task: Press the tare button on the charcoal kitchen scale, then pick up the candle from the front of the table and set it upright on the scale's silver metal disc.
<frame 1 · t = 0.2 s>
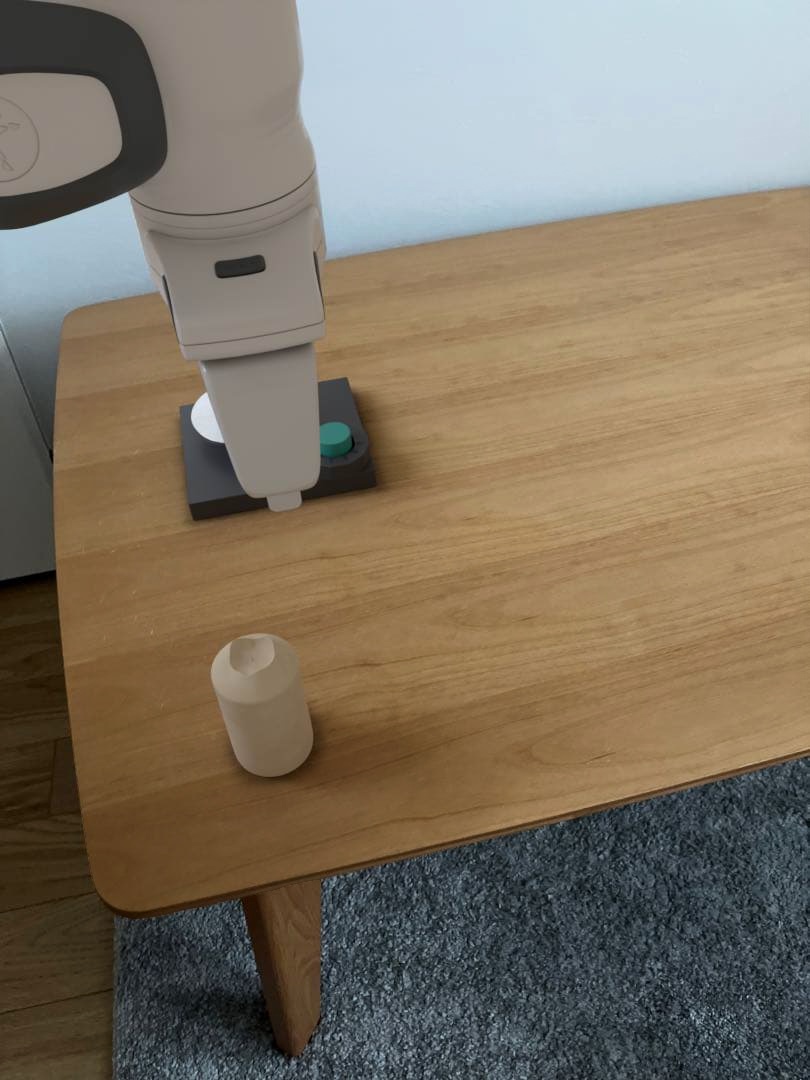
hand: (274, 448, 58), 21 cm above the table, tool pointing down, fingers open, 8 cm apart
tare button: (333, 439, 86), point 4 cm above the table, slide at 0.1 cm
candle: (274, 745, 70), on the table
scale: (276, 452, 91), on the table
silver metal disc: (251, 443, 93), resting on scale
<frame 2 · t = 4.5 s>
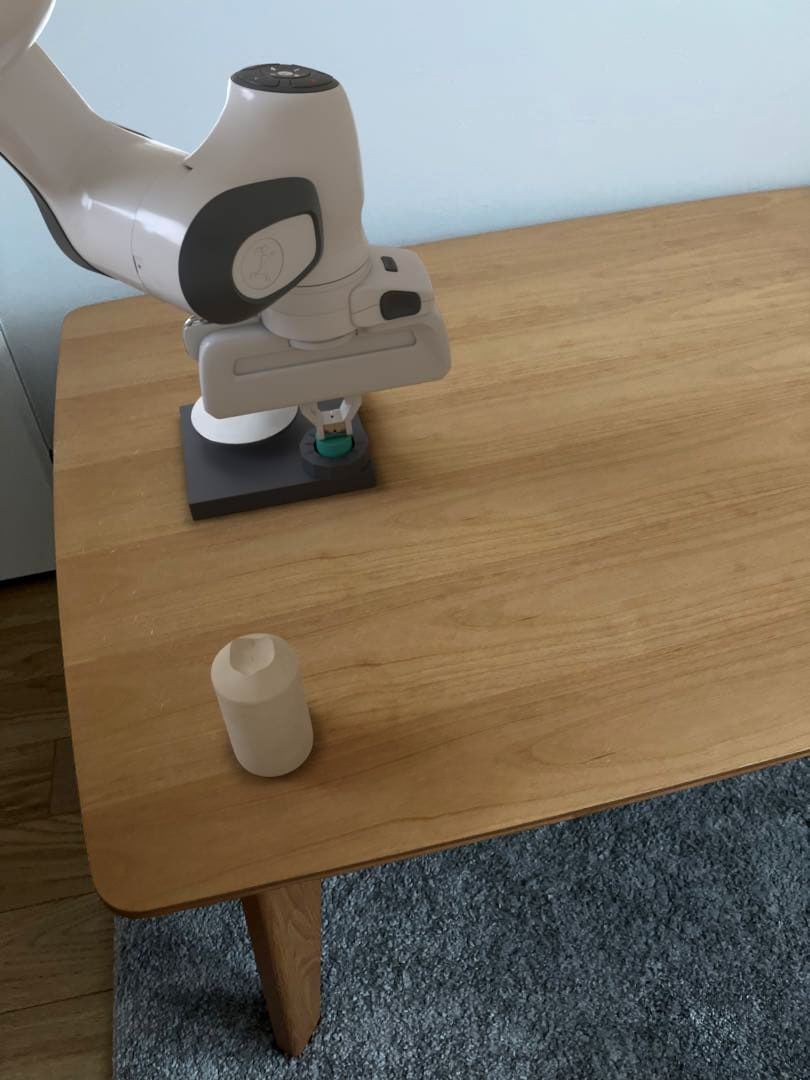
hand: (334, 433, 86), 5 cm above the table, tool pointing down, fingers closed, pressing on tare button
tare button: (333, 440, 86), point 4 cm above the table, slide at 0.0 cm, touching gripper
everything else where it was.
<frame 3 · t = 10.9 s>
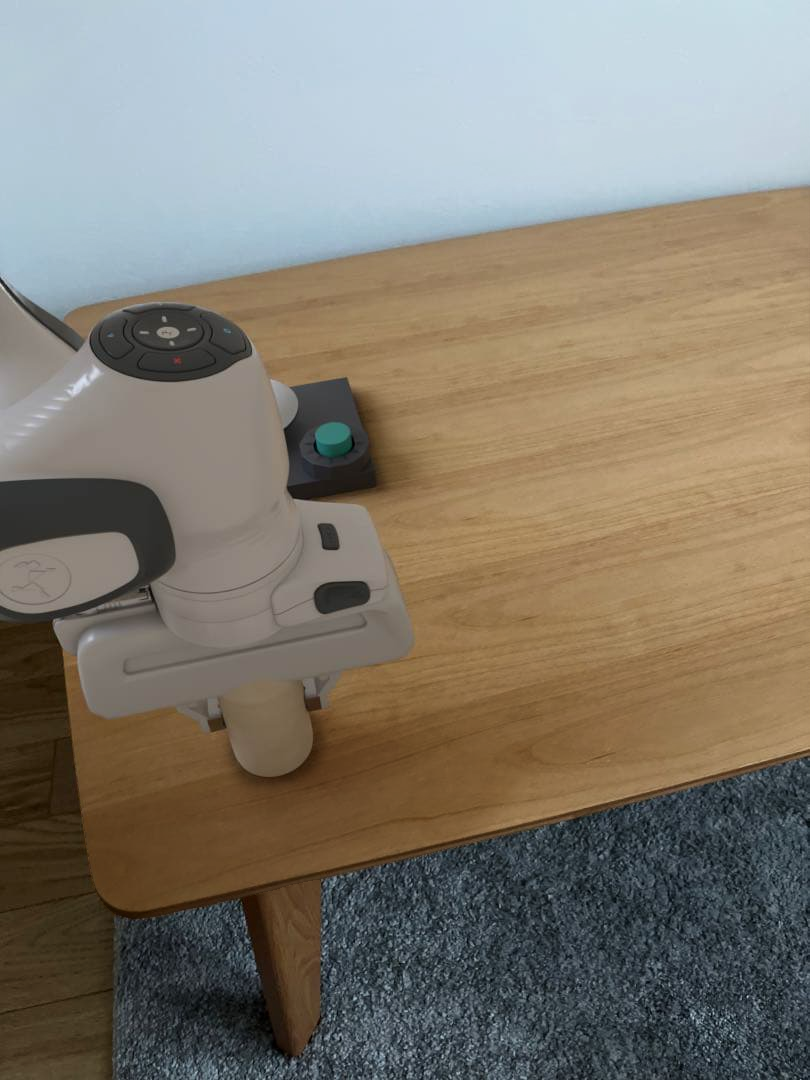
hand: (266, 712, 67), 4 cm above the table, tool pointing down, fingers closed on candle, 5 cm apart
tare button: (333, 440, 86), point 4 cm above the table, slide at 0.1 cm
candle: (274, 745, 69), on the table, touching gripper
when the fingers open (7 cm above the table, at t = 18.5 s): candle stays where it is, resting on silver metal disc.
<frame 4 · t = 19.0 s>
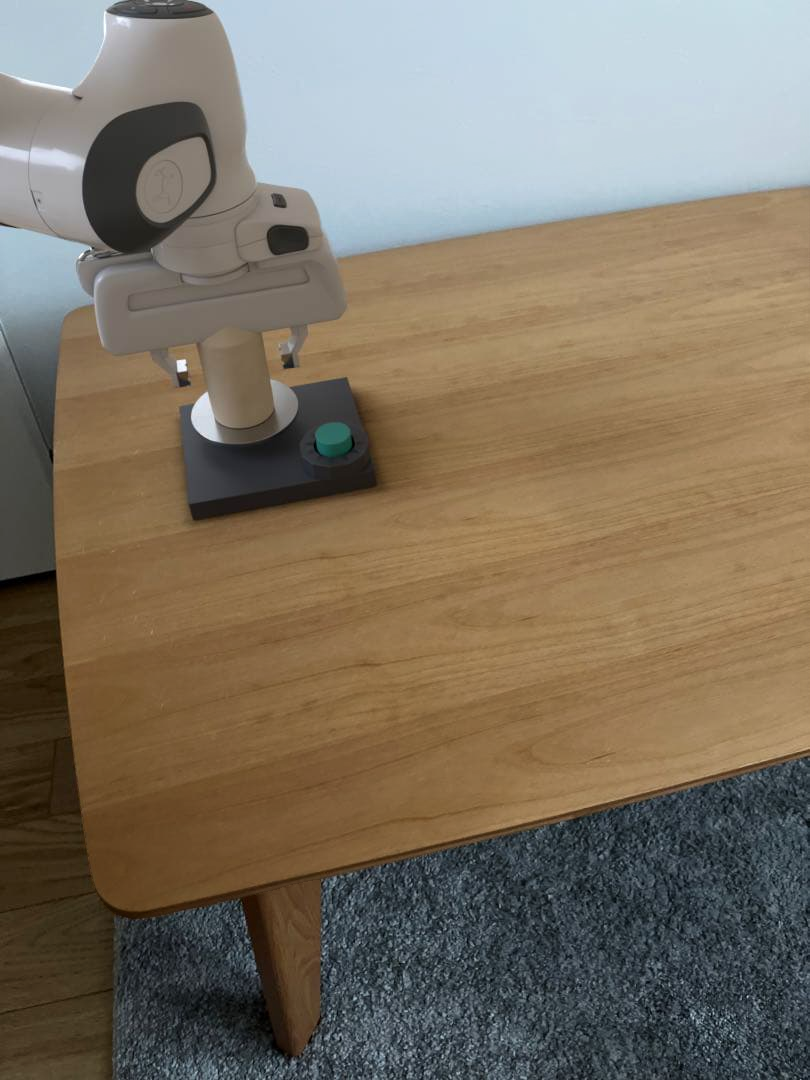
hand: (237, 374, 87), 8 cm above the table, tool pointing down, fingers open, 8 cm apart
candle: (244, 411, 90), point 4 cm above the table, touching silver metal disc
everything else where it was.
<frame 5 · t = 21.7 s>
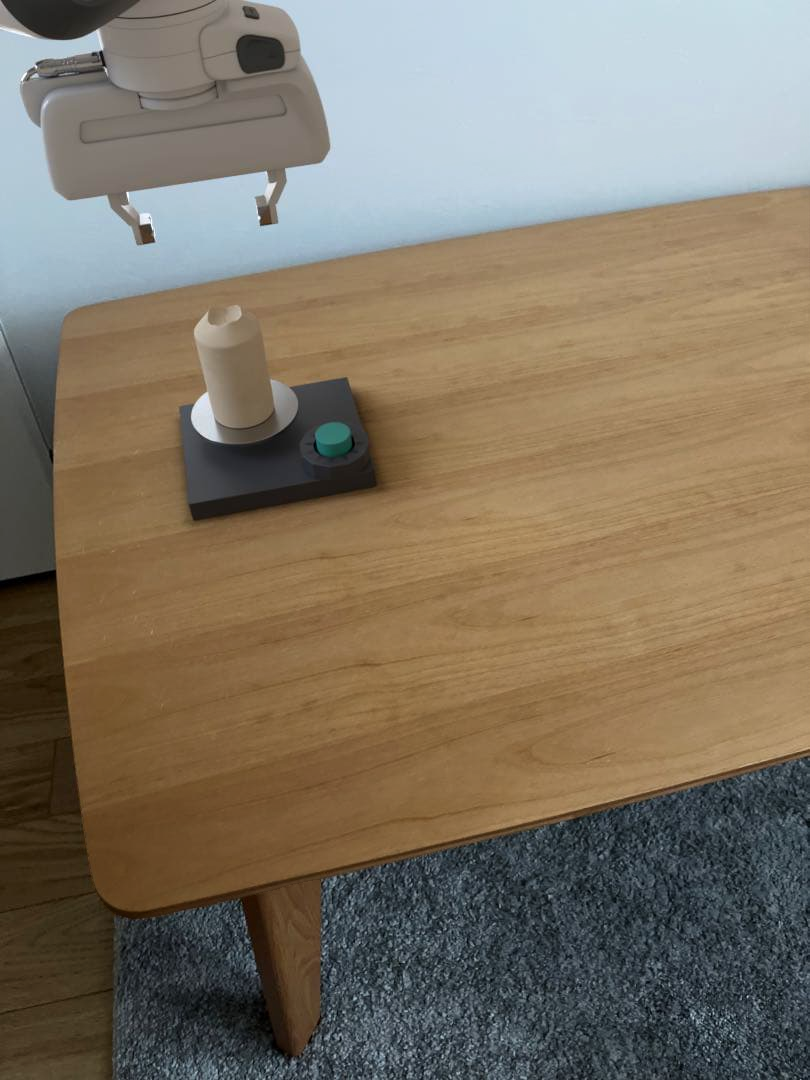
hand: (207, 231, 78), 21 cm above the table, tool pointing down, fingers open, 8 cm apart
nothing on the table moved.
at the end: tare button pushed in 0.8 cm at the most during the clip, back to where it started at the end; candle inside the target area on the scale (0.1 cm from its centre), point 3.7 cm above the scale's base; candle tilted 0° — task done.
